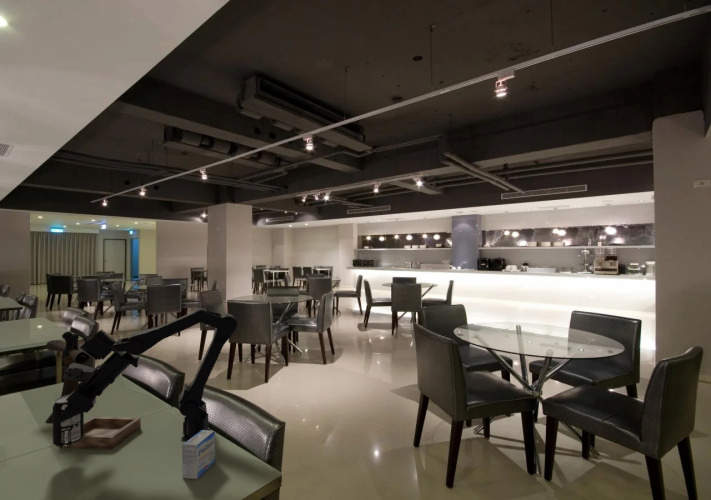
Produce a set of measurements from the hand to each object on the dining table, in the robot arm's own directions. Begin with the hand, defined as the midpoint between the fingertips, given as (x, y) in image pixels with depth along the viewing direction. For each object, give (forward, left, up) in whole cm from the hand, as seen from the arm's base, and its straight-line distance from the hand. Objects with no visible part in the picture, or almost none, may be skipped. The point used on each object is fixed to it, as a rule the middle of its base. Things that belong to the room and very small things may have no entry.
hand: (62, 416), depth 96 cm
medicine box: (-39, 0, -13) cm, 41 cm away
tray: (0, -14, -13) cm, 19 cm away
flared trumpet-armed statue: (+25, -26, -13) cm, 38 cm away
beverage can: (-1, -1, -7) cm, 7 cm away
